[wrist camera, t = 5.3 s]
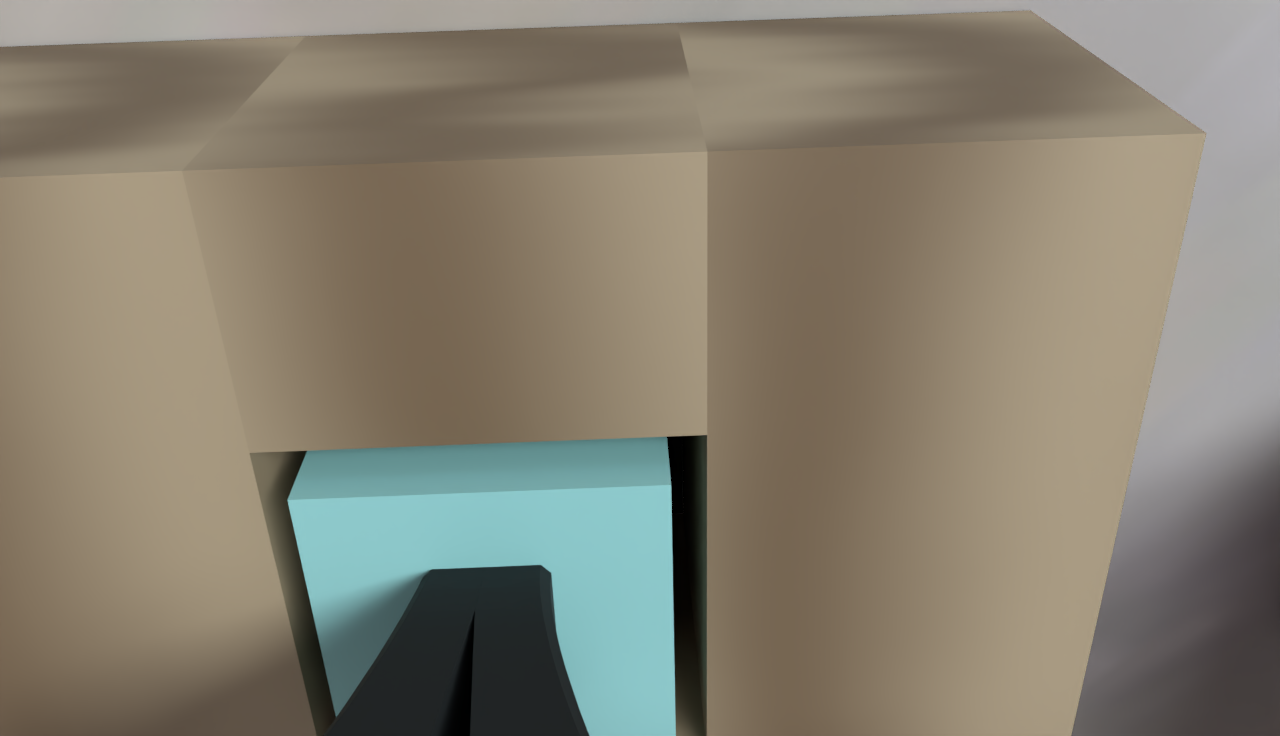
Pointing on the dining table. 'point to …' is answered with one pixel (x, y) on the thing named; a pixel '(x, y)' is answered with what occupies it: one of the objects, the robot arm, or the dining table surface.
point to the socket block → (585, 345)
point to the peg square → (502, 555)
